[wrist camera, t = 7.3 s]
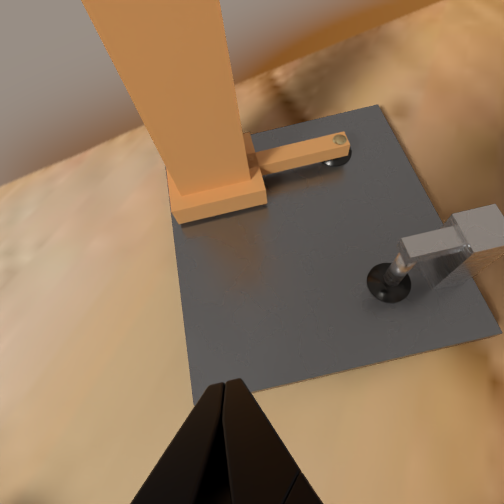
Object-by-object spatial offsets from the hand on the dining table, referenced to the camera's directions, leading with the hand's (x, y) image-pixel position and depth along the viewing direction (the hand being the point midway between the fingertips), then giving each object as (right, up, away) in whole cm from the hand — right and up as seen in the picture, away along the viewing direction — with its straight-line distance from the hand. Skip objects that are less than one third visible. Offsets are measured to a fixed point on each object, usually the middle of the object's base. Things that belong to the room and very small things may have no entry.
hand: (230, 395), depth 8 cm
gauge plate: (+4, +5, +14) cm, 15 cm away
